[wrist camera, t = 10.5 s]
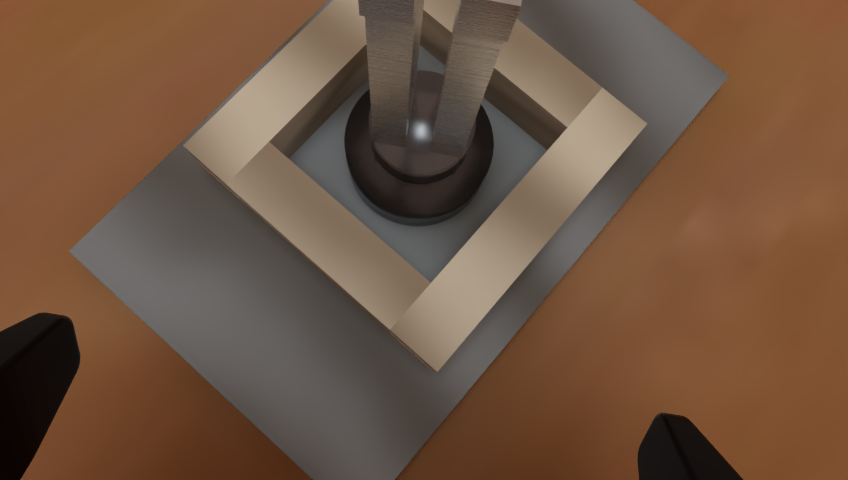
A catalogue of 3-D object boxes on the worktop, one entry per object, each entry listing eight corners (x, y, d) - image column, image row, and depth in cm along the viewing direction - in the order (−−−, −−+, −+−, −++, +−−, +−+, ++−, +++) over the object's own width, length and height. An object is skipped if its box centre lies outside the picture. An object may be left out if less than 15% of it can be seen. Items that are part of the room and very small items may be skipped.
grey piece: (493, 107, 24) (615, -179, 11) (474, 237, 23) (582, 84, 10) (361, 84, 24) (330, -234, 11) (336, 213, 23) (269, 28, 10)
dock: (360, 515, 22) (354, 544, 18) (82, 256, 23) (27, 237, 20) (716, 86, 26) (766, 43, 22) (461, -114, 27) (471, -184, 24)
